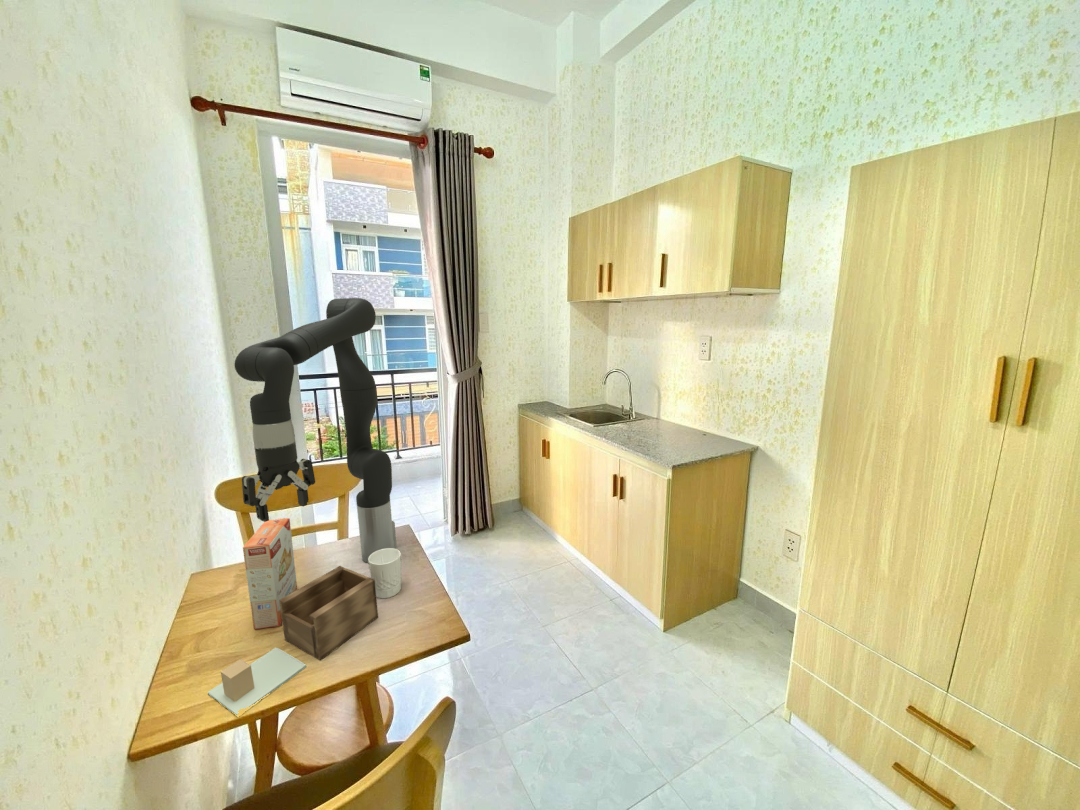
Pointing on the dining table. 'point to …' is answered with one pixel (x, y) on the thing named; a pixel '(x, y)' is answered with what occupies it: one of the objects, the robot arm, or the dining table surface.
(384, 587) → the white cup
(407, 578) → the dining table surface
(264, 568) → the cracker box
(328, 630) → the walnut box
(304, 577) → the dining table surface
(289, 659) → the lid
